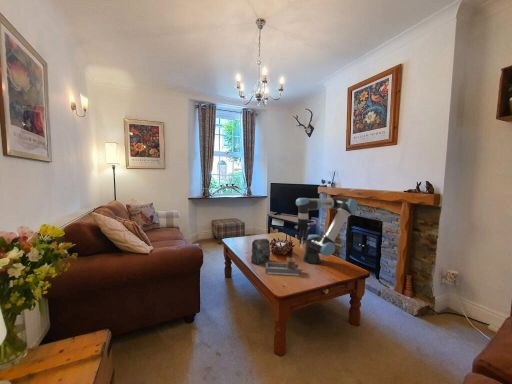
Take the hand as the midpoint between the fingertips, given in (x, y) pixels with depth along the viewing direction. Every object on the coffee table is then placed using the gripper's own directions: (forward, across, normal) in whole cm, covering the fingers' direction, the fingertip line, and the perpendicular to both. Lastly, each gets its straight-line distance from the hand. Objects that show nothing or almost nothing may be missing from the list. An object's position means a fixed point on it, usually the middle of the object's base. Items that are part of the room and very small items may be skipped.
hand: (301, 248), depth 174 cm
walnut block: (+18, +8, 0) cm, 19 cm away
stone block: (+19, +32, -16) cm, 41 cm away
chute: (+19, +14, 0) cm, 24 cm away
